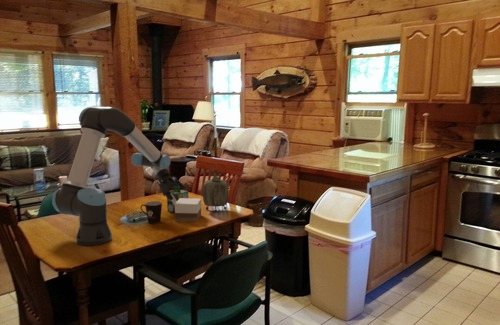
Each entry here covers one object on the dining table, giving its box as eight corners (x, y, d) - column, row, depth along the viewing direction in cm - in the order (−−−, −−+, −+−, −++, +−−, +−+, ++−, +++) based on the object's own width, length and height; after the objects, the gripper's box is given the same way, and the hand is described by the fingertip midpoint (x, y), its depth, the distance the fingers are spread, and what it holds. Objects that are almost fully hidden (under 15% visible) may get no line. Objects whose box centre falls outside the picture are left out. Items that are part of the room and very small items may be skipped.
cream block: (197, 213, 204) (197, 204, 204) (174, 212, 205) (174, 203, 204) (201, 207, 216) (201, 198, 215) (179, 206, 217) (179, 198, 216)
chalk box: (189, 210, 227) (189, 185, 225) (178, 213, 219) (178, 188, 217) (177, 207, 232) (177, 183, 229) (166, 211, 224) (166, 186, 222)
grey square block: (197, 222, 205) (196, 213, 205) (174, 221, 206) (174, 212, 205) (201, 215, 217) (201, 207, 216) (180, 215, 218) (179, 206, 217)
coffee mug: (165, 221, 205) (165, 203, 204) (151, 225, 199) (151, 206, 198) (153, 216, 213) (152, 199, 212) (139, 220, 207) (138, 202, 205)
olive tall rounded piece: (228, 208, 230) (228, 167, 226) (228, 213, 221) (227, 170, 217) (204, 208, 230) (203, 167, 226) (202, 213, 221) (202, 170, 217)
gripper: (171, 172, 240) (191, 201, 234) (144, 178, 222) (165, 209, 216) (177, 165, 236) (197, 194, 230) (150, 170, 218) (171, 202, 212)
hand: (182, 201), depth 223 cm, fingers closed on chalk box, 9 cm apart
